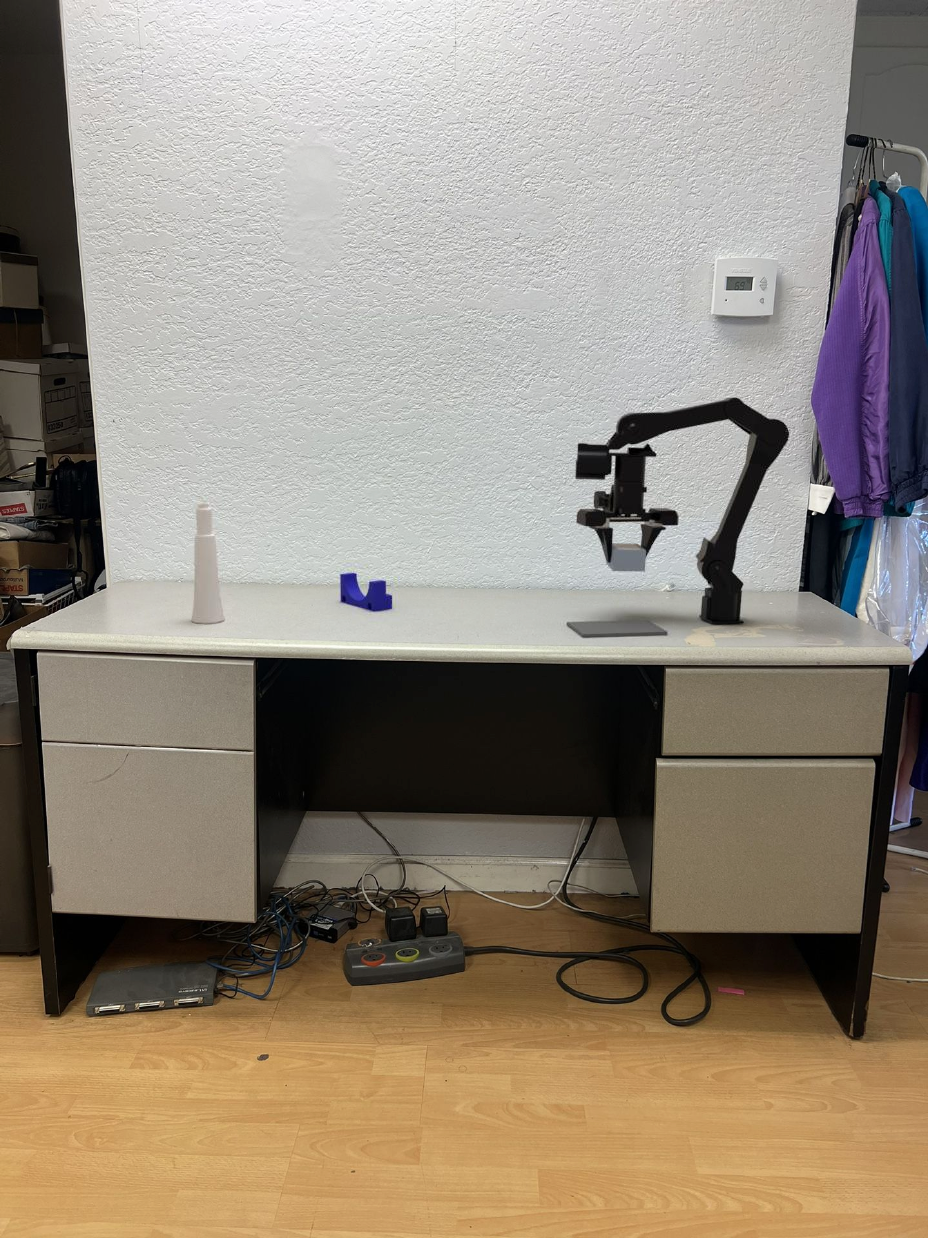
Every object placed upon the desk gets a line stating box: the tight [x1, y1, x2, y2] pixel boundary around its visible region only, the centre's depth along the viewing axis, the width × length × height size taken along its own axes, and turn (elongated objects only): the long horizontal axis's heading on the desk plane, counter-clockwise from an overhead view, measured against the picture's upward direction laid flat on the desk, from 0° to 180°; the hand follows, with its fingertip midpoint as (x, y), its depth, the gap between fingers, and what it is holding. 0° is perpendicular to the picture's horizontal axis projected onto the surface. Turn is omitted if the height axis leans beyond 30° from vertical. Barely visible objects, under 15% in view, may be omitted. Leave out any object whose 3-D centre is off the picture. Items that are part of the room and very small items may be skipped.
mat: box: [566, 619, 669, 638], centre depth 184 cm, size 16×10×1 cm, turn 101°
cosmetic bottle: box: [191, 501, 226, 625], centre depth 184 cm, size 6×6×22 cm
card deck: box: [605, 542, 647, 573], centre depth 192 cm, size 6×9×4 cm, turn 0°
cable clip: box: [339, 572, 393, 613], centre depth 202 cm, size 12×4×6 cm, turn 39°
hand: (625, 562), depth 192 cm, fingers closed on card deck, 6 cm apart
